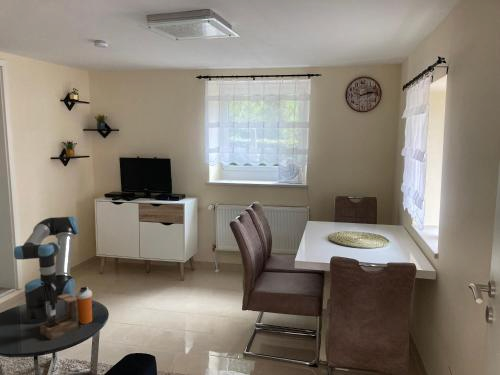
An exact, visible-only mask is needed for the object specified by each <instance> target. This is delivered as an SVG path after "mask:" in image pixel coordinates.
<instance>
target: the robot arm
mask: <svg viewBox="0 0 500 375" xmlns="http://www.w3.org/2000/svg"><path fill="white" fill-rule="evenodd" d="M78 234H79V225H78V220H77V218H76V217H75V216H59V217H47V218H45V219H43V220H41V221H39V222H38V223H36V225H35V226H34V227H33V228H32V233H31V234H30V235H29V237H28V238H27V239H26V241H25V242H24V243H23V245H17V246H15V247H14V250H13V257H14V258H15V259H16V260H33V259H38V264H39V269H38V271H39V274H40V275H39V277H40V278H39V277H38V278H36V279H31V280H30V281H28V282H27V283H25V284H24V297H25V312H24V316H23V321H24V323H26V324H38V323H40V324H41V323H43V322H45V321H46V322H47V321H48V318H47V305H46V301H47V300H50V304H49V305H50V316H53V315H55V316H56V315H57V313H56V304H58V301H62V300H61V299H59V298H57V296H59V295H62V294H65V293H66V294H68V295H71V296H74V292H75V289H76V280H75V279H74V278H73V276H72V275H71V264H72V253H73V252H72V251H73V250H72V249H73V240H74V239H75V238H76V235H78ZM49 236H51V237H52V236H55V238H56V239H57V242H55V241H51V242H48V243H44V244H42V243H43V242H44V240H45V239H46V238H48V237H49Z"/></svg>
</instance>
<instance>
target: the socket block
mask: <svg viewBox="0 0 500 375" xmlns="http://www.w3.org/2000/svg"><path fill="white" fill-rule="evenodd" d="M57 298H59V299H61V300H60V301H63V302H64V311H65V312H64V313H65V314H64V315H62V316H60V317H57V318H56V317H55V322H53V323H48V321H46V322H44V323H43V322H42V323H40V324H39V330H40V334H41V335H43V336H45V337H46V338H48V339H49V340H50V341H51V340H55V339H56V338H58V337H59V338H60V337H62V336H63V335H66V334H68V333H71V332H74V331H77V330H78V329H80V323H79V315H78V307H77V298H76V296H75V297H74V295H72V296H71V295H68V294H66V293H65V294H62V295H59V296H57Z"/></svg>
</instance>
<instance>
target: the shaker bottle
mask: <svg viewBox="0 0 500 375" xmlns="http://www.w3.org/2000/svg"><path fill="white" fill-rule="evenodd" d="M75 298H77V307H78V320H79V324H81V325H87V324H89V322H90V323H91V322H92V321H93V291H92V290H91V289H89V287H88V286H84V287H80V288H79V290H78V291H77V292H76V293H75Z"/></svg>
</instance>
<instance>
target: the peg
mask: <svg viewBox="0 0 500 375" xmlns="http://www.w3.org/2000/svg"><path fill="white" fill-rule="evenodd" d="M49 304H50V300H47V301H46V305H47V318H48V320H47V322H48V323H53V322H55V319H56V315H53V316H50V305H49Z"/></svg>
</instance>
